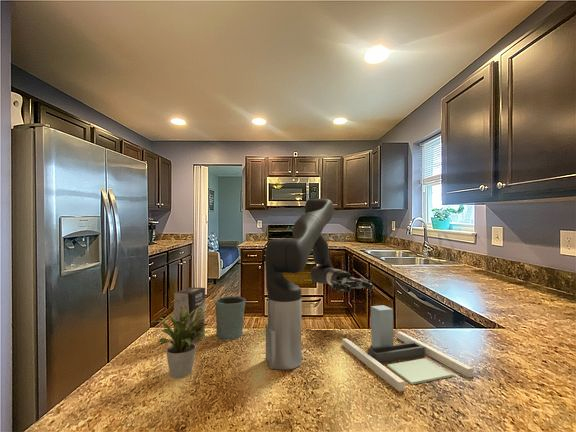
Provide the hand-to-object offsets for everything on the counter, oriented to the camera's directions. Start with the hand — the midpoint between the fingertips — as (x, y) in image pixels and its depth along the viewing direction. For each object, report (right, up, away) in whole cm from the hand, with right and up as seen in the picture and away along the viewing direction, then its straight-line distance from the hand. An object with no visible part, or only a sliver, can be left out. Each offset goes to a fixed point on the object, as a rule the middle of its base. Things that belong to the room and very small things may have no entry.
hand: (361, 288), depth 98 cm
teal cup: (-45, -16, -2) cm, 48 cm away
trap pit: (+5, -15, -18) cm, 24 cm away
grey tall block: (+3, -15, -12) cm, 20 cm away
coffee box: (-57, -16, -6) cm, 60 cm away
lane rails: (+6, -15, -20) cm, 25 cm away
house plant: (-52, -15, -28) cm, 61 cm away
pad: (+8, -14, -26) cm, 31 cm away
